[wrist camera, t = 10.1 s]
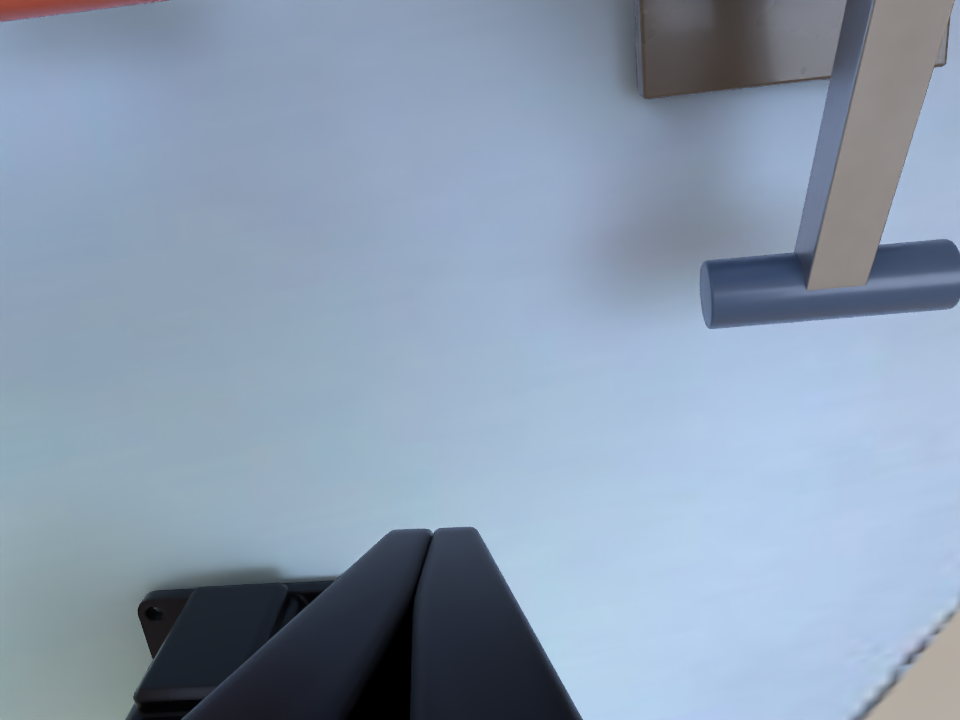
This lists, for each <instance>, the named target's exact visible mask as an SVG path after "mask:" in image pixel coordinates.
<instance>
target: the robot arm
mask: <svg viewBox="0 0 960 720" xmlns="http://www.w3.org/2000/svg"><path fill="white" fill-rule="evenodd" d="M153 607H158V608H159V609H161V610H162V612H159V611H157V610H155V609H154V608H153ZM138 616H139V619H140V622H141V625H142V628H143V631H144V634H145V637H146V640H147V643H148V646H149V649H150V652H151V655H152V658H153V661H152V663H151V665H150V667H149V668H148V670H147V672H146V674H145V675H144V677H143V679H142V681H141V682H140V684H139V686H138V688H137V689H136V691H135V693H134V696H133V699H134V702H135V703H134V705H133V707H132V709H131V710H130V712H129V714H128V716H127V718H126V719H125V720H583V719H582V717H581V716H580V714H579V712H578V710H577V708H576V707H575V705H574V703H573V701H572V699H571V698H570V696H569V694H568V692H567V690H566V689H565V687H564V685H563V683H562V681H561V680H560V678H559V676H558V674H557V672H556V671H555V669H554V667H553V665H552V664H551V662H550V660H549V658H548V656H547V655H546V653H545V651H544V649H543V647H542V646H541V644H540V642H539V640H538V638H537V637H536V635H535V633H534V631H533V629H532V628H531V626H530V624H529V622H528V620H527V619H526V617H525V615H524V613H523V611H522V610H521V608H520V606H519V604H518V602H517V601H516V599H515V597H514V595H513V593H512V592H511V590H510V588H509V586H508V584H507V583H506V581H505V579H504V577H503V575H502V574H501V572H500V570H499V568H498V566H497V565H496V563H495V561H494V559H493V557H492V556H491V554H490V552H489V550H488V548H487V547H486V545H485V543H484V541H483V539H482V538H481V536H480V534H479V532H478V531H477V530H476V529H475V528H473V527H454V528H439V529H437V530H436V531H435V532H434V534H433V533H432V531H431V530H429V529H402V530H393V531H391V532H389V533H388V534H387V535H385V536H384V537H383V538H382V539H381V540H380V541H379V542H378V543H377V544H375V545H374V546H373V547H372V548H371V549H370V550H369V551H368V552H367V553H365V554H364V555H363V556H362V557H361V558H360V559H359V560H358V561H357V562H355V563H354V564H353V565H352V566H351V567H350V568H349V569H348V570H347V571H345V572H344V573H343V574H342V575H341V576H340V577H339V578H338V579H337V580H333V581H316V582H298V583H281V584H280V583H266V584H249V585H232V586H214V587H199V588H194V589H177V590H160V591H153V592H150V593H148V594H147V595H146V596H145V597H144V599H143V600H142V602H141V603H140V605H139V607H138Z"/></svg>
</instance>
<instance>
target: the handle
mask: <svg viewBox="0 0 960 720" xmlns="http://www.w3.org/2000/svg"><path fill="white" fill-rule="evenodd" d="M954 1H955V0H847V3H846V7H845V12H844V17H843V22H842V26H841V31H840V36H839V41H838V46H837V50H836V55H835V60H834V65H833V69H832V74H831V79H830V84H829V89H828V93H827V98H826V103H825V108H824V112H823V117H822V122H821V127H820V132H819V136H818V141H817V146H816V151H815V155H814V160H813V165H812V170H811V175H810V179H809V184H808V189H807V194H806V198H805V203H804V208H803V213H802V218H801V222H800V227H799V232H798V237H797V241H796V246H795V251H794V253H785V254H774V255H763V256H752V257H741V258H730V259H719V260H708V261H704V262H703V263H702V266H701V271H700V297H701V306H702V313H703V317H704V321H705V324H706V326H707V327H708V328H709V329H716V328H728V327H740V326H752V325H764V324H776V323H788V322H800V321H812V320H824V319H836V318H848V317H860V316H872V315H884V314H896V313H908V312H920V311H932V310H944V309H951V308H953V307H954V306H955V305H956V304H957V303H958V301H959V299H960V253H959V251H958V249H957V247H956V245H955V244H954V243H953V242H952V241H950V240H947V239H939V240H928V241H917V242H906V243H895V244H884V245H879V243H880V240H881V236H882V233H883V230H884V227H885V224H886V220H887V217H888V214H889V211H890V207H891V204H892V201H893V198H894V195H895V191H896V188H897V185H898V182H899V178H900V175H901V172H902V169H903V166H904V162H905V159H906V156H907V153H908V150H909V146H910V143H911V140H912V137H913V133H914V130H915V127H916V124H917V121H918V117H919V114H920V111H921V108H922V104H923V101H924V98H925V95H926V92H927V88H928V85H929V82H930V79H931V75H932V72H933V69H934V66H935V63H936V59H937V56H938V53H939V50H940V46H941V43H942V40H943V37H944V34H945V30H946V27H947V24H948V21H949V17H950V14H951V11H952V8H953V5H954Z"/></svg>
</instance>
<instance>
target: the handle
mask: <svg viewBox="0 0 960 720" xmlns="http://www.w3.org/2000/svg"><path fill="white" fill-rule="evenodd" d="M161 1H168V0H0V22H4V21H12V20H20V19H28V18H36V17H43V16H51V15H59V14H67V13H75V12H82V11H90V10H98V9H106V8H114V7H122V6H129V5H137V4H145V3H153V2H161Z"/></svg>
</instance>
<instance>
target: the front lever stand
mask: <svg viewBox="0 0 960 720" xmlns="http://www.w3.org/2000/svg"><path fill="white" fill-rule="evenodd" d="M846 3H847V0H634V19H635V43H636V67H637V90H638V93H639V94H640V95H641V96H642V97H643V98H645V99H652V98H661V97H670V96H679V95H688V94H697V93H706V92H715V91H724V90H733V89H743V88H752V87H761V86H770V85H779V84H788V83H797V82H806V81H815V80H824V79H831V74H832V69H833V65H834V60H835V55H836V50H837V46H838V41H839V36H840V31H841V26H842V22H843V17H844V12H845V7H846ZM949 25H950V17H949V21H948V24H947V27H946V30H945V34H944V37H943V40H942V43H941V46H940V50H939V53H938V56H937V59H936V63H935V66H934V67H942V66H944V65H945V64H946V59H947V48H948V36H949Z"/></svg>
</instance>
